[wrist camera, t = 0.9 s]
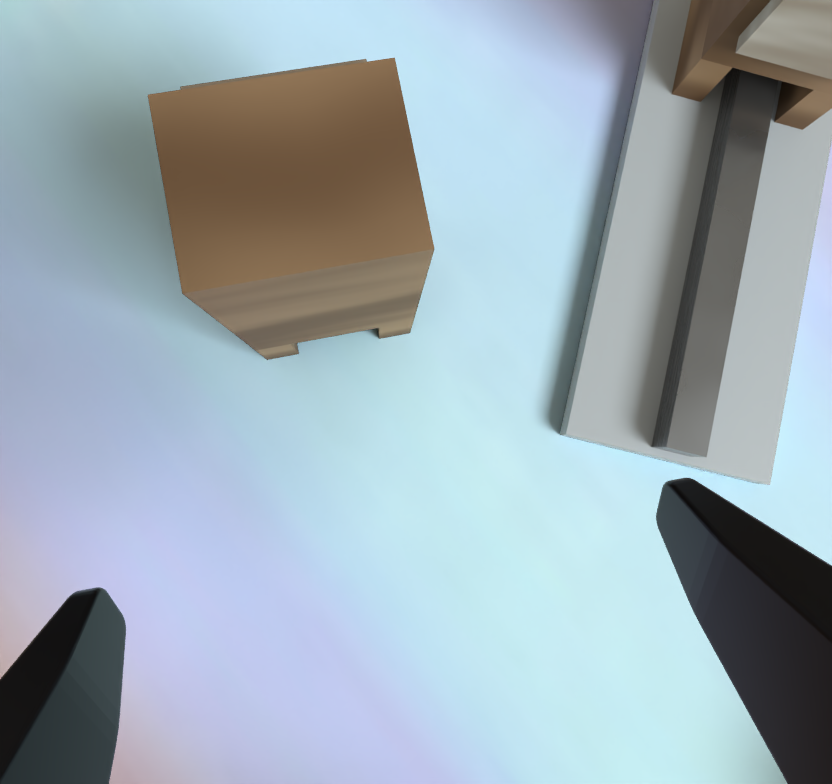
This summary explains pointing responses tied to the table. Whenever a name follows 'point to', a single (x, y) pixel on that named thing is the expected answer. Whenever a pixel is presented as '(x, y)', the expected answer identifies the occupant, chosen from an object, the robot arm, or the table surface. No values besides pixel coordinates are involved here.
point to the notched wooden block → (296, 202)
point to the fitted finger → (761, 51)
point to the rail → (715, 265)
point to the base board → (667, 264)
